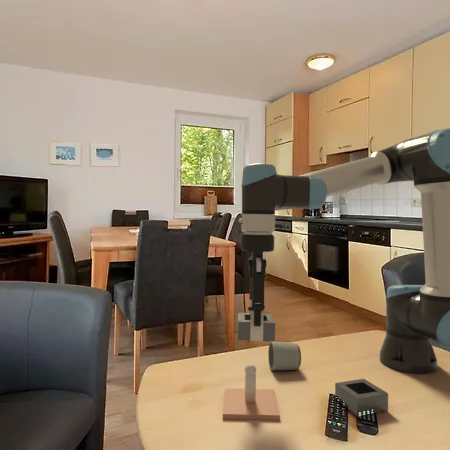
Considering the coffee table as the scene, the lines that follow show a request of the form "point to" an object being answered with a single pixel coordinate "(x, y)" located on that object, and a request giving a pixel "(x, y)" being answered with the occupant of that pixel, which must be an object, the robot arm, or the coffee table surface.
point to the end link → (244, 327)
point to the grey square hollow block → (362, 396)
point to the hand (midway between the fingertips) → (255, 334)
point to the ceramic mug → (284, 356)
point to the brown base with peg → (250, 400)
